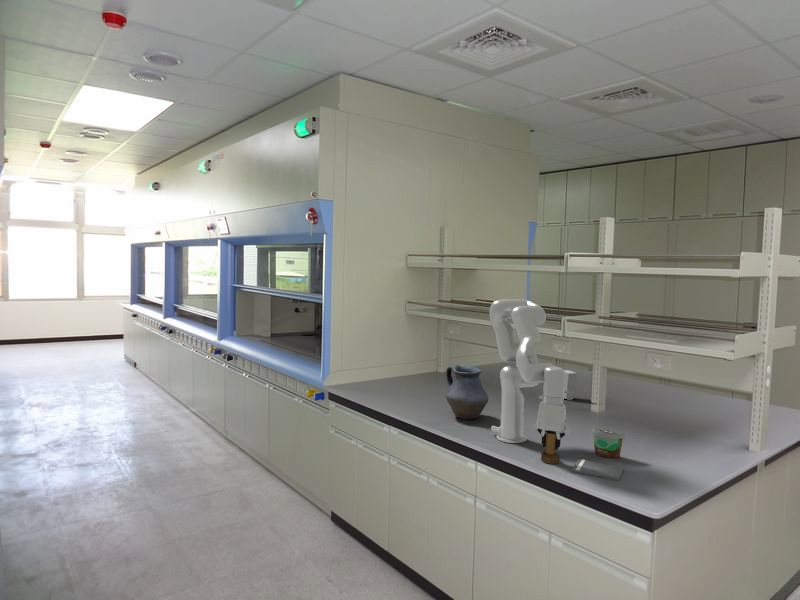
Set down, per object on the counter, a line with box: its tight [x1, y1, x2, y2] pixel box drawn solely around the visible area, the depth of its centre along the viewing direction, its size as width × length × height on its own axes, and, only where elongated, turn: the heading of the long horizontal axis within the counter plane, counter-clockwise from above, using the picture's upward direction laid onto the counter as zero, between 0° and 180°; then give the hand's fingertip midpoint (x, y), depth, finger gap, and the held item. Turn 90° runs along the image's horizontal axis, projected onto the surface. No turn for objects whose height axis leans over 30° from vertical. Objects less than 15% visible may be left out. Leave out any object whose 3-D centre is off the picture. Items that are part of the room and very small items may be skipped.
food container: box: [591, 427, 626, 459], centre depth 211 cm, size 12×6×10 cm, turn 56°
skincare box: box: [564, 369, 578, 399], centre depth 305 cm, size 8×7×16 cm
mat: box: [571, 458, 625, 481], centre depth 196 cm, size 16×12×1 cm
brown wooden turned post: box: [540, 430, 560, 465], centre depth 204 cm, size 7×6×18 cm
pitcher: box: [445, 363, 489, 421], centre depth 262 cm, size 21×22×25 cm
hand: (550, 447), depth 204 cm, fingers closed on brown wooden turned post, 4 cm apart
